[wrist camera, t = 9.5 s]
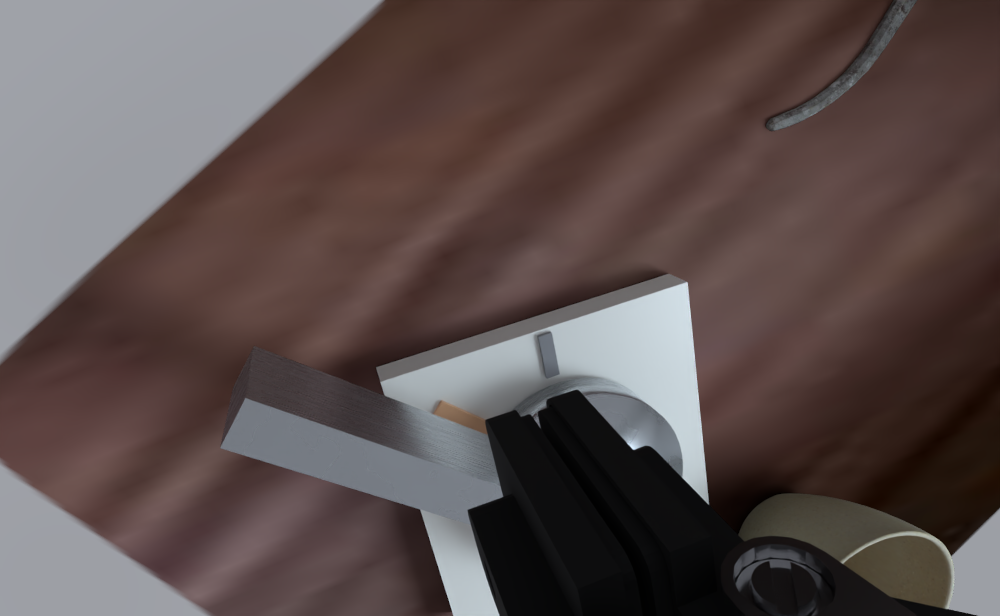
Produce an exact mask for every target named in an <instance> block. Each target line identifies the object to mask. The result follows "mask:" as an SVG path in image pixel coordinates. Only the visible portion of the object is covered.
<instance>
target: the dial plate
mask: <svg viewBox="0 0 1000 616" xmlns="http://www.w3.org/2000/svg"><path fill="white" fill-rule="evenodd" d="M376 369H377V373H378V376H379V379H380V382H381V386H382V389H383V392H384V395H385V396H387V397H390V398H392V399H395V400H397V401H400V402H403V403H405V404H408V405H410V406H413V407H416V408H418V409H421V410H424V411H426V412H429V413H431V414H434V415H437V416H439V417H442V418H444V419H447V420H450V421H452V422H455V423H458V424H460V425H463V426H465V427H468V428H471V429H473V430H476V431H479V432H481V433H484V434H486V435H488V434H487V430H486V425H485V420H486V419H489V418H492V417H495V416H498V415H501V414H504V413H507V412H510V411H512V410H513V409H514V408H515V407H516V406H517V405H519V404H520V403H521V402H523V401H524V400H525V399H526V398H528V397H530V396H531V395H533V394H534V393H536V392H538V391H540V390H542V389H544V388H546V387H548V386H550V385H553V384H556V383H559V382H562V381H566V380H571V379H577V378H600V379H605V380H610V381H613V382H616V383H618V384H621V385H623V386H625V387H627V388H628V389H630V390H632V391H633V392H634V393H635V394H637V395H638V396H639V397H640V398H641V399H643V400H644V401H645V402H646V403H647V404H649V405H650V406H651V407H652V408H653V409H654V410H656V411H657V412H658V413H659V414H660V415H662V416H663V417H664V418H665V420H666V421H667V422H668V423H669V424H670V426H671V427H672V429H673V430H674V432H675V434H676V436H677V439H678V441H679V443H680V448H681V452H682V459H683V476H682V478H683V479H684V480H685V481H686V482H687V483H688V484H689V485H690V486H691V487H692V488H693V489H694V490H695V491H696V492H697V493H698V494H699V495H700V496H701V497H702V498H703V499H704V500H705V501H706V502H707V504H708V505H709V499H708V489H707V479H706V468H705V458H704V448H703V437H702V427H701V417H700V406H699V396H698V386H697V375H696V365H695V355H694V345H693V334H692V324H691V314H690V303H689V293H688V283H687V282H686V281H684V280H682V279H680V278H677V277H675V276H673V275H671V274H666V275H663V276H660V277H657V278H654V279H651V280H648V281H644V282H641V283H638V284H635V285H632V286H629V287H626V288H623V289H619V290H616V291H613V292H610V293H607V294H604V295H601V296H598V297H594V298H591V299H588V300H585V301H582V302H579V303H576V304H573V305H569V306H566V307H563V308H560V309H557V310H554V311H551V312H548V313H544V314H541V315H538V316H535V317H532V318H529V319H526V320H522V321H519V322H516V323H513V324H510V325H507V326H504V327H501V328H497V329H494V330H491V331H488V332H485V333H482V334H479V335H476V336H472V337H469V338H466V339H463V340H460V341H457V342H454V343H451V344H447V345H444V346H441V347H438V348H435V349H432V350H429V351H426V352H422V353H419V354H416V355H413V356H410V357H407V358H404V359H401V360H397V361H394V362H391V363H388V364H385V365H382V366H379V367H376ZM421 514H422V517H423V520H424V523H425V526H426V530H427V533H428V536H429V539H430V542H431V546H432V549H433V552H434V555H435V558H436V562H437V565H438V568H439V571H440V574H441V578H442V581H443V584H444V587H445V590H446V594H447V597H448V600H449V603H450V606H451V609H452V613H453V616H499V613H498V610H497V607H496V605H495V602H494V599H493V596H492V593H491V590H490V587H489V584H488V581H487V578H486V575H485V572H484V569H483V566H482V562H481V559H480V556H479V552H478V549H477V545H476V542H475V538H474V535H473V531H472V527H471V525H469V524H466V523H463V522H459V521H456V520H453V519H450V518H446V517H443V516H440V515H437V514H433V513H430V512H427V511H424V510H421Z"/></svg>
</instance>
